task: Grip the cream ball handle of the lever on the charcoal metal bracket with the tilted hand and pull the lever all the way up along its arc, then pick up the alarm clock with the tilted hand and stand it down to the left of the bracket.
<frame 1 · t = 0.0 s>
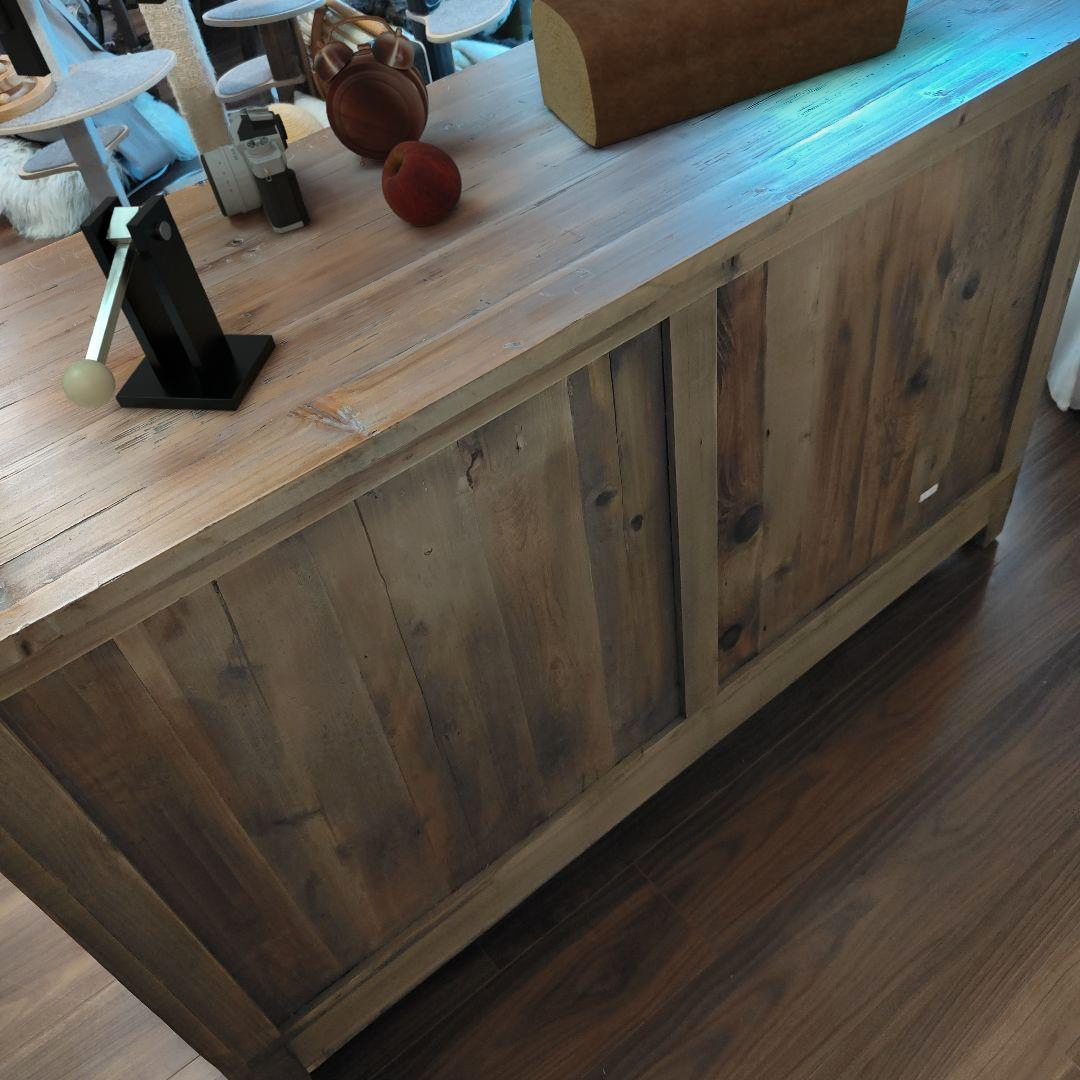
hand: (96, 37, 78), 24 cm above the table, tool pointing down, fingers open, 13 cm apart
apple: (430, 221, 101), on the table
lever bracket: (200, 376, 88), on the table
camera: (265, 208, 108), on the table
alarm clock: (391, 160, 112), on the table
lever: (110, 308, 76), point 11 cm above the table, hinge at -25.0°
bread: (720, 81, 114), on the table
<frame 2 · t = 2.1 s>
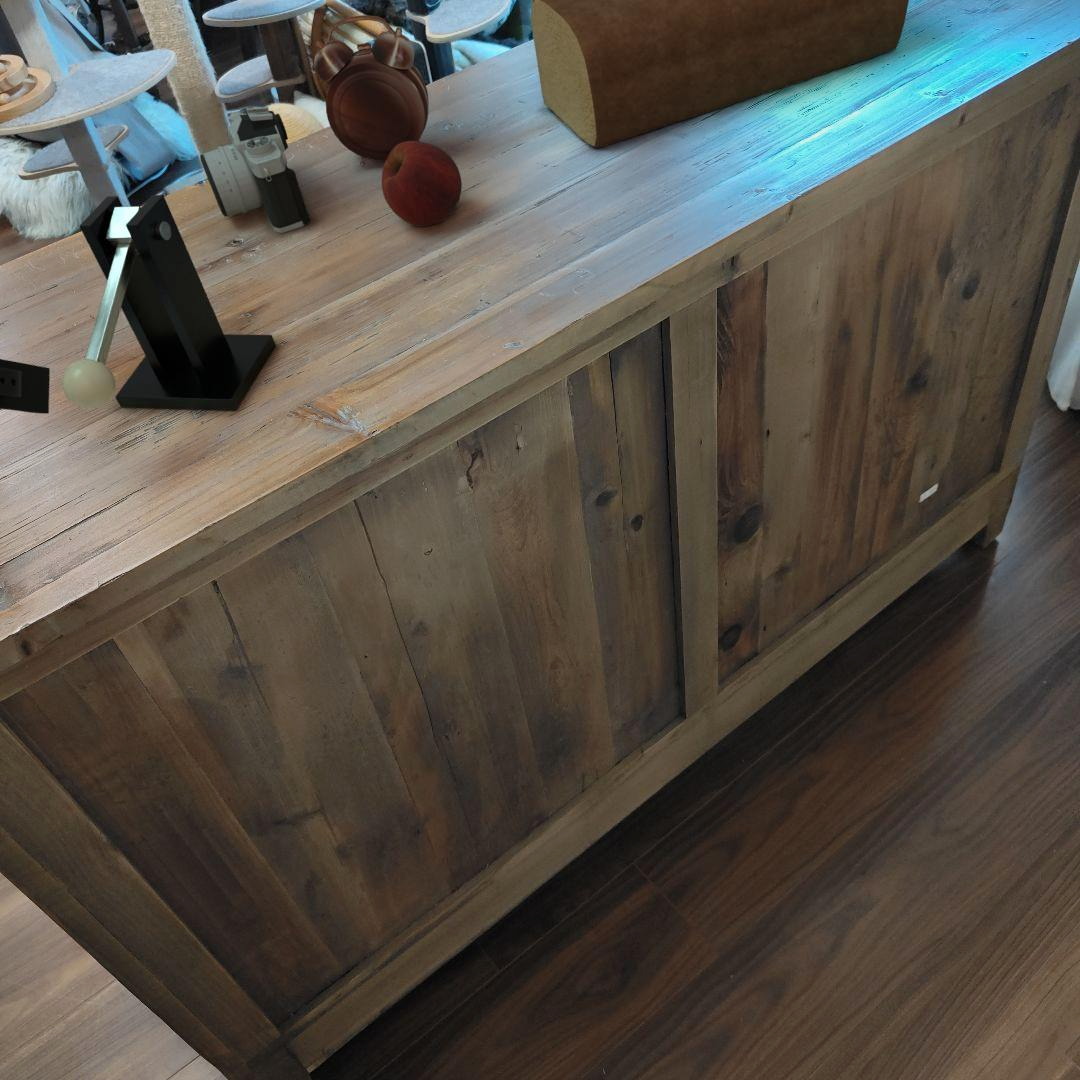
nothing on the table moved.
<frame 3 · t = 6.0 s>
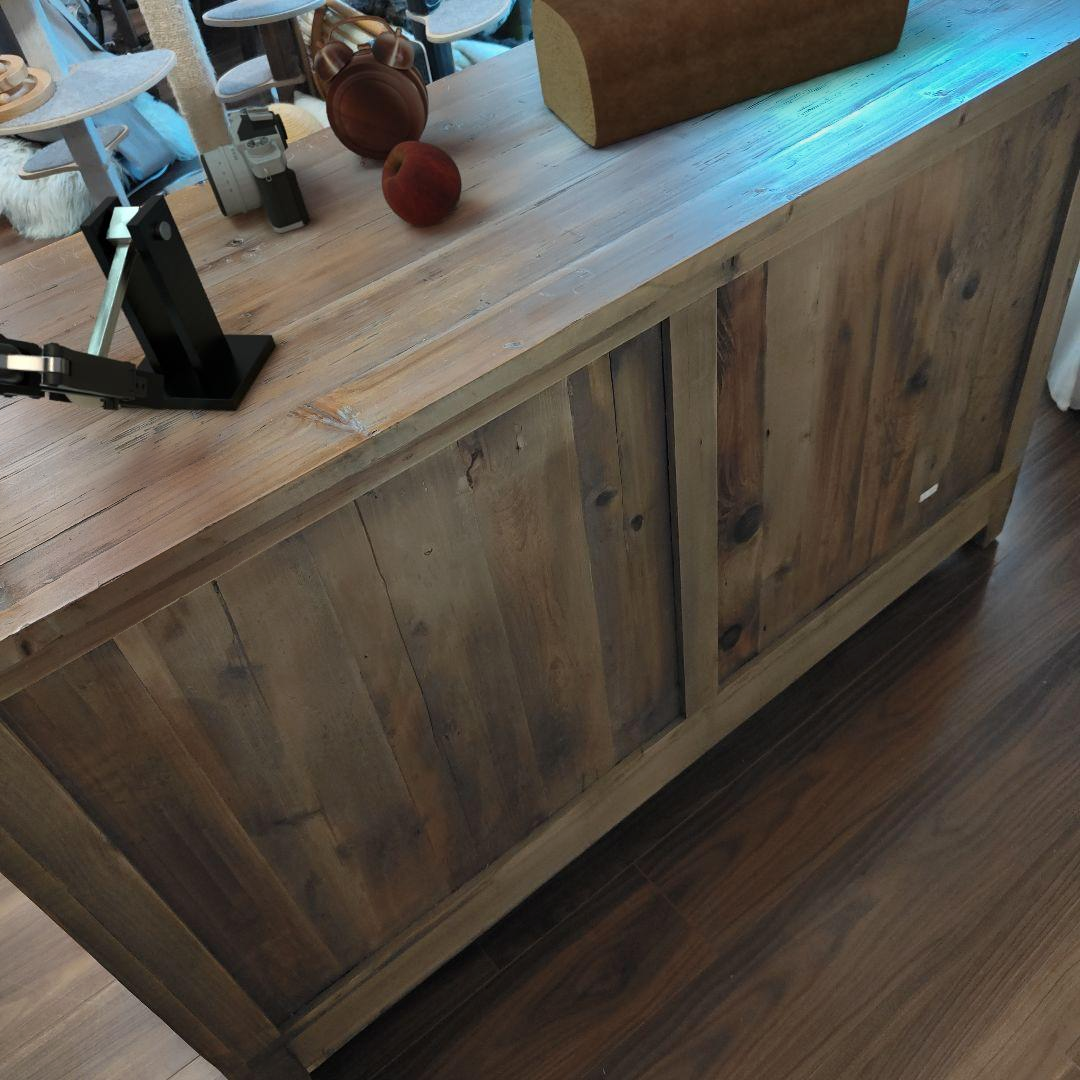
hand: (134, 391, 79), 5 cm above the table, tool tilted 45°, fingers closed on lever, 4 cm apart
lever: (110, 308, 76), point 11 cm above the table, hinge at -25.0°, touching gripper
everything else where it was.
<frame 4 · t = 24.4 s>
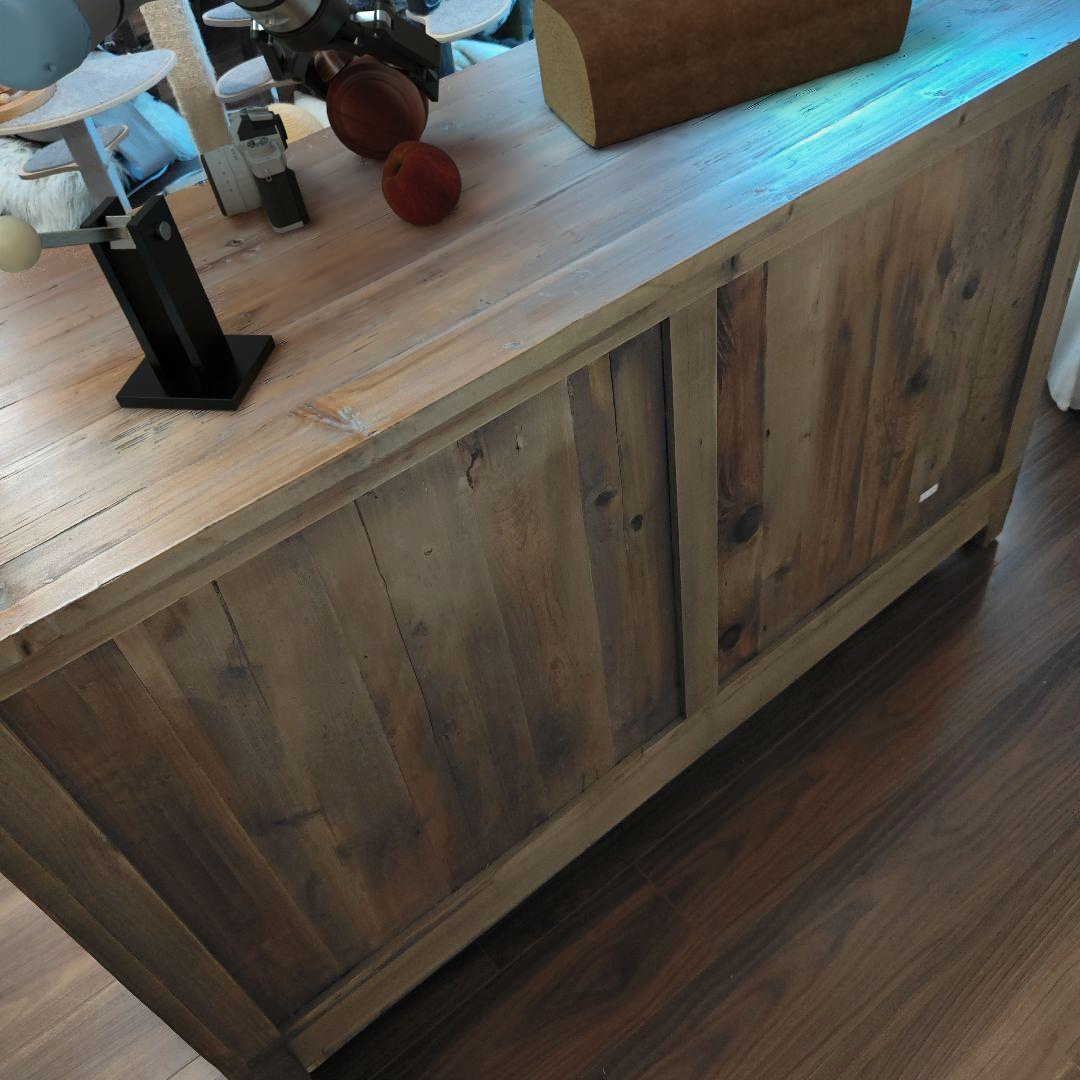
hand: (385, 92, 109), 6 cm above the table, tool tilted 45°, fingers closed on alarm clock, 11 cm apart
alarm clock: (391, 160, 112), on the table, touching gripper
lever: (74, 237, 72), point 17 cm above the table, hinge at 27.0°
everything else where it was.
when the fingers open (6 cm above the table, at t = 36.2 s): alarm clock stays where it is, on the table.
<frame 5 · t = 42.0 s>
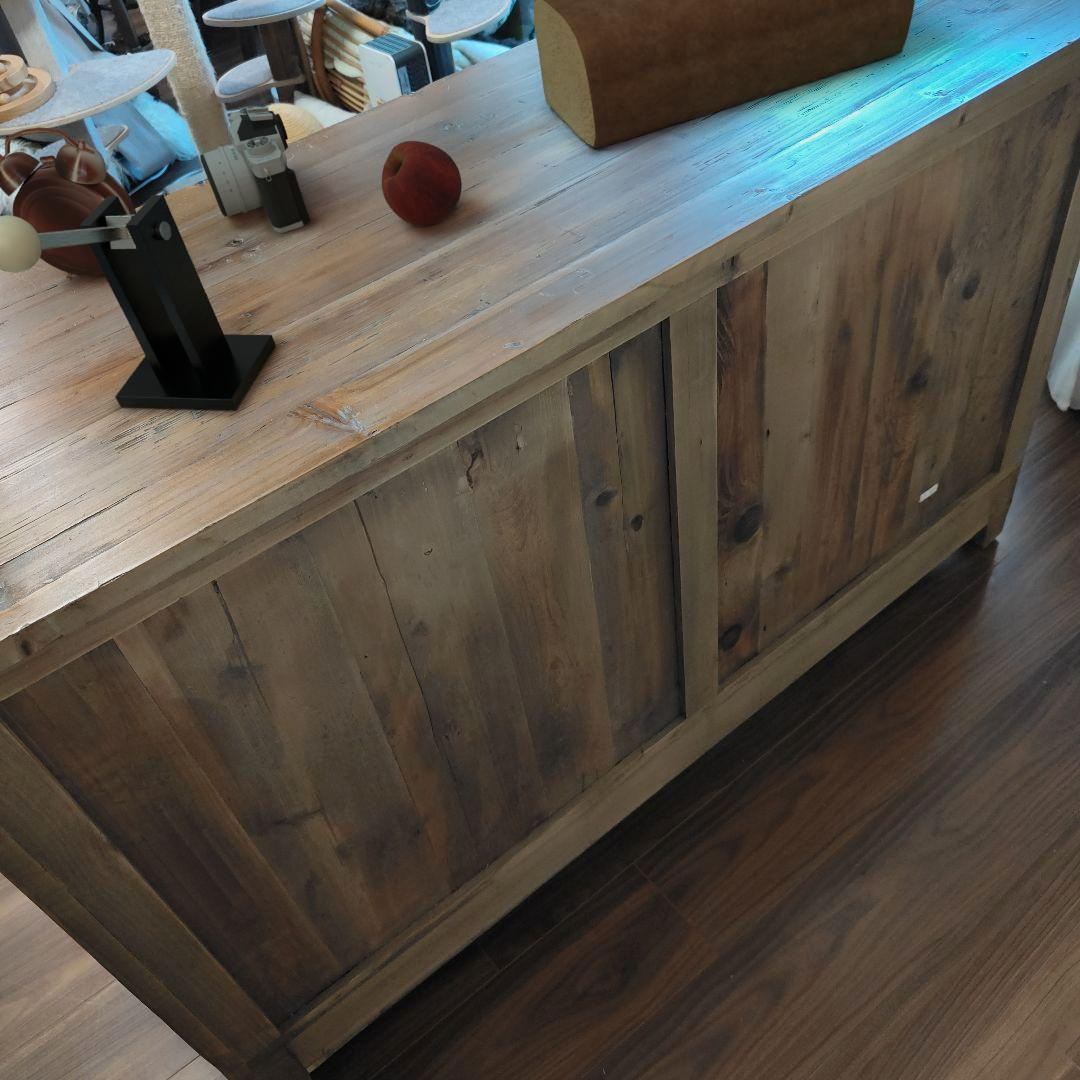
alarm clock: (104, 273, 103), on the table
everything else where it was.
at the end: lever reached +31° during the clip, +27° at the end; lever at +27° (first picture: -25°); alarm clock inside the target area on the table beside the lever bracket (0.0 cm from its centre), on the table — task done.
